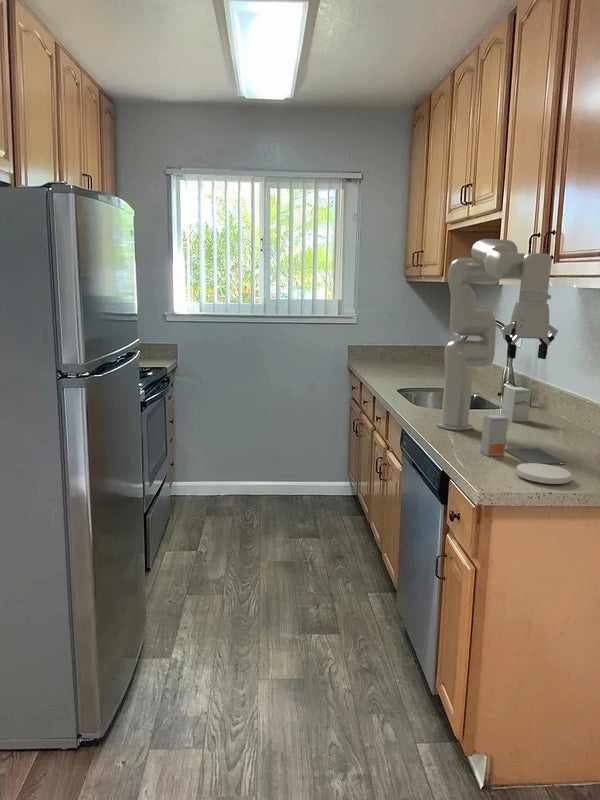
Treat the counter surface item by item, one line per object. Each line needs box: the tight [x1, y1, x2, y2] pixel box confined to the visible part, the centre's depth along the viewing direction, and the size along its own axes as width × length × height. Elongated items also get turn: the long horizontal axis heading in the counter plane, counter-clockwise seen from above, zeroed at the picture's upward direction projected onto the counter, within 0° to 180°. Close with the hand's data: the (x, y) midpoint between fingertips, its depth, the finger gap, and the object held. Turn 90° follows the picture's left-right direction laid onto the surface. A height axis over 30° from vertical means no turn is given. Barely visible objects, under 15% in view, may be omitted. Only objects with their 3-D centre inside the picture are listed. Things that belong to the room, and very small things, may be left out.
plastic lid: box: [515, 462, 572, 485], centre depth 175 cm, size 14×14×2 cm
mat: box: [504, 447, 567, 465], centre depth 196 cm, size 16×12×1 cm
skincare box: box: [479, 414, 509, 457], centre depth 196 cm, size 6×4×12 cm
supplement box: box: [500, 386, 532, 423], centre depth 249 cm, size 7×7×13 cm
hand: (526, 358), depth 184 cm, fingers open, 9 cm apart
